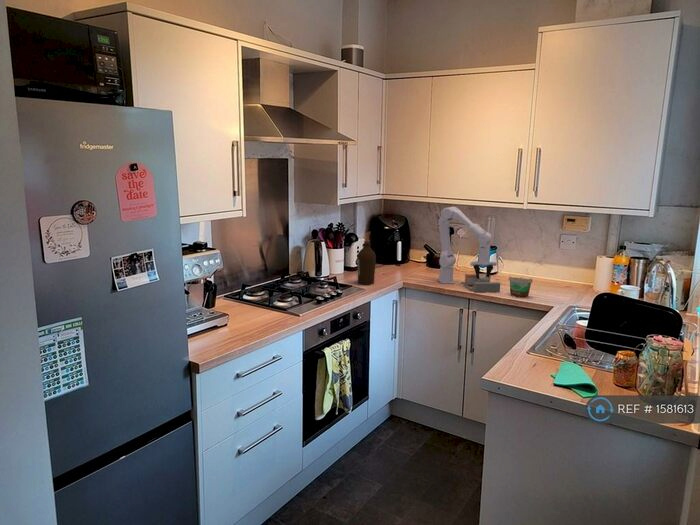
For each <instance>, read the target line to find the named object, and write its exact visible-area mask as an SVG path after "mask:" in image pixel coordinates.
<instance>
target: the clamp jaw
mask: <svg viewBox="0 0 700 525" xmlns="http://www.w3.org/2000/svg"><path fill="white" fill-rule="evenodd" d="M479 275H486V273H479ZM491 277H492V276H491V274H490V275H489V279H488V282H491ZM474 282H476V273H465V274H464V283H466V284H467V285H468V286H474Z"/></svg>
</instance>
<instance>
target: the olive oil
mask: <svg viewBox="0 0 700 525" xmlns="http://www.w3.org/2000/svg"><path fill="white" fill-rule="evenodd" d="M370 241H371V240H369V239H364V241H363V247H362V248H361V249H360V250H359V251H358V253H357V258H356V259H357V260H356V261H357V265H356V266H357V284H358V283H359V285H361V284H362V285H361V286H371V284H372V285H374V284H375V276H376V274H375V272H376V262H377V255H376V253H375V251H374V250H373V249H372V248H371V242H370Z"/></svg>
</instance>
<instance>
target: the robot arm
mask: <svg viewBox="0 0 700 525" xmlns="http://www.w3.org/2000/svg"><path fill="white" fill-rule="evenodd" d="M452 220H458V221H460V222H461V223H462V224H463V225H465V227H467V228H468V231H469V232H470V233H471V234H472V235H473V236H474V237H475V238H476V239H477V240H478V243H479V248H478V261H470V264H469V266H470V267H473V269H474V271H475V274H476V278H477V279H479V274H480V271H481V267H483V266H484V267H485V268H486V270H485V271H486V272H485V274H486V276H487V277H488V279H489V275H491V273H492V271H493V270H494V268H495V267H496V266H497V263H498V262H496V261H490V254H491V253H490V252H491V242H492V240H493V236H492V234H491V233H490V232H487V231H486V229H485V230H484V229H483V228H482V227H481V225H480V224H479V223H473V222H472V221H471V220H470V219H469V218H468V217H467V216H466V214H464V213H463V212H462V211H461V209H459V208H458V206H450V207H449V206H448V207H444V208H443V209H442V210H441V211H440V216H439V220H438V227H439V229H438V230H439V236H440V245H441V246H440V247H441V252H440V255H439V262H438V264H439V266H440V268H439V271H438V274H439V275H438V278H437V281H439V282H440V283H441V284H456V282H455V281H454V280H453V279H454V265H455V264H456V262H457V260H456V257H455V254H454V252H453V250H452V245H451V236H450V226H449V223H450V222H451V221H452Z"/></svg>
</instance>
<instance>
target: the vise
mask: <svg viewBox="0 0 700 525" xmlns="http://www.w3.org/2000/svg"><path fill="white" fill-rule="evenodd" d="M460 283H461V285H462V284H463V285H462V286H463V287H465V288H468V290H469V291H470V292H473V293H477V294H478V293H500V292H501V283H500V281H490V282H474V285H472V287H473V288H472V287H471V286H470V285H467V284H466V283H465V281H460Z"/></svg>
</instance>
